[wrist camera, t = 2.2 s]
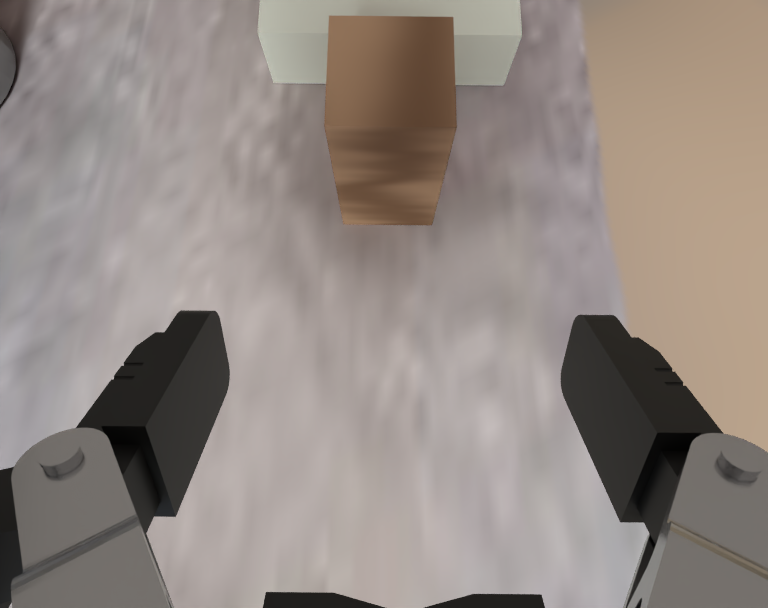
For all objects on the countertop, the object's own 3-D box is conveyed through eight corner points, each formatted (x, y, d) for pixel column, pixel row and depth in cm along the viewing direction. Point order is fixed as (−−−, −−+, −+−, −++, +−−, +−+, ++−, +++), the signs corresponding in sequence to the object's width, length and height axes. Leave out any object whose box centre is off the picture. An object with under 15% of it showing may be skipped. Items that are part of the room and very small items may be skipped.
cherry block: (343, 224, 28) (324, 125, 19) (345, 145, 29) (328, 15, 20) (431, 225, 28) (456, 127, 19) (430, 145, 29) (453, 16, 20)
